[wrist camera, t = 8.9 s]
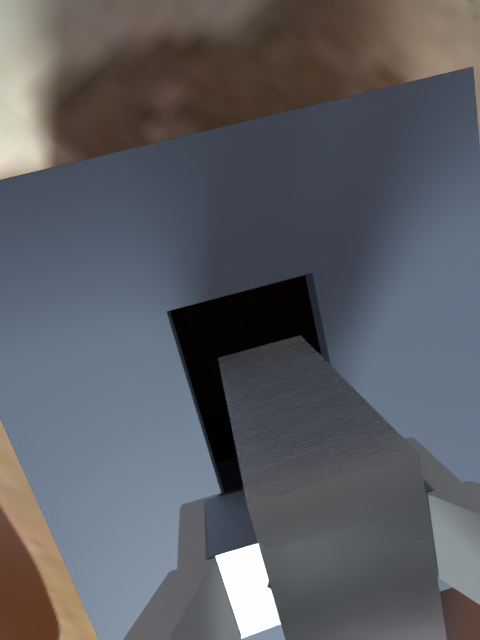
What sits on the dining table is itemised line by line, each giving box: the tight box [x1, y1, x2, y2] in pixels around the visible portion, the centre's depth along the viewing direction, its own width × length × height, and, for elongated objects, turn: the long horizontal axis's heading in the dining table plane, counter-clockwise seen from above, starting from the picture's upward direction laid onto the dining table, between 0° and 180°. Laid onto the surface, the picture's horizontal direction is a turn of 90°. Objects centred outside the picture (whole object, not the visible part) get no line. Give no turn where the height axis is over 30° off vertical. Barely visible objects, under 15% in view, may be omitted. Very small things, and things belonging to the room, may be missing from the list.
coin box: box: [0, 67, 480, 640], centre depth 16 cm, size 16×14×10 cm
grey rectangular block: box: [218, 335, 446, 640], centre depth 8 cm, size 6×2×5 cm, turn 14°
